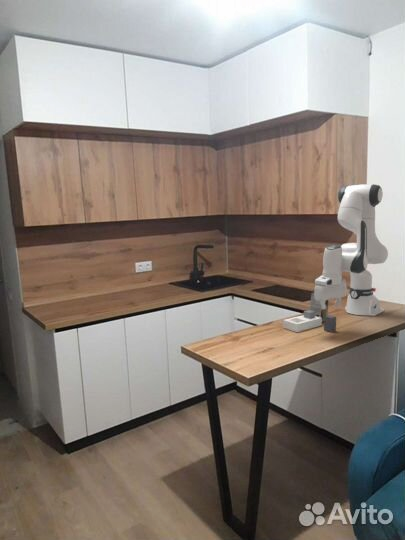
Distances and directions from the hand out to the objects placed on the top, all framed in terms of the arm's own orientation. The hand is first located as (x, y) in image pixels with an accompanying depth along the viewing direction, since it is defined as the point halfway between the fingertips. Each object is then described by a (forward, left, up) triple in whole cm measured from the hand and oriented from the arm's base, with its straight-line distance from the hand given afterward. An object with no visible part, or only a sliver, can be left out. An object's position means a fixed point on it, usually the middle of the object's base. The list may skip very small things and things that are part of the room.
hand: (330, 307), depth 198 cm
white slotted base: (+5, -12, -12) cm, 18 cm away
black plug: (-1, 0, -12) cm, 12 cm away
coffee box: (-11, -15, -12) cm, 22 cm away
